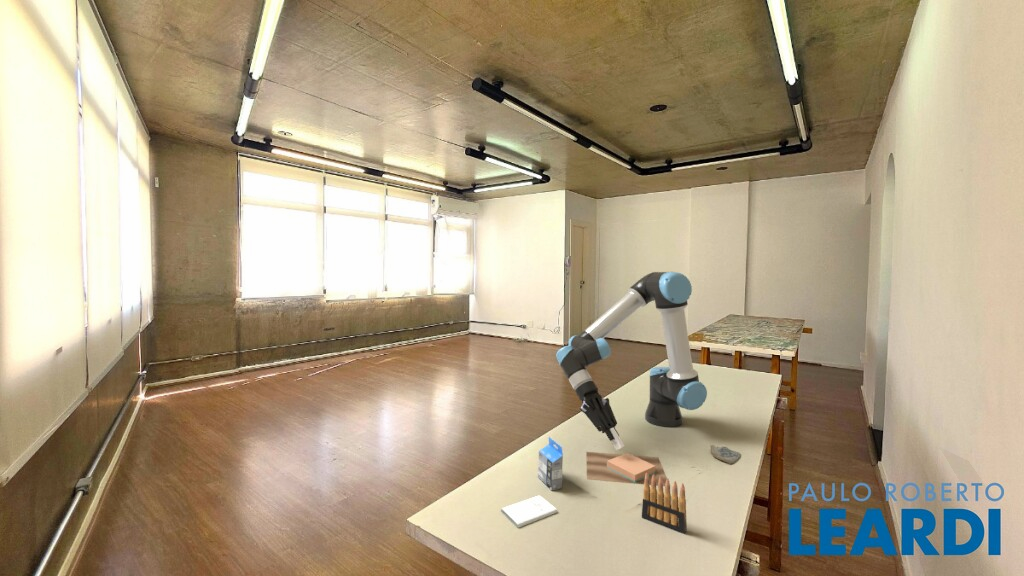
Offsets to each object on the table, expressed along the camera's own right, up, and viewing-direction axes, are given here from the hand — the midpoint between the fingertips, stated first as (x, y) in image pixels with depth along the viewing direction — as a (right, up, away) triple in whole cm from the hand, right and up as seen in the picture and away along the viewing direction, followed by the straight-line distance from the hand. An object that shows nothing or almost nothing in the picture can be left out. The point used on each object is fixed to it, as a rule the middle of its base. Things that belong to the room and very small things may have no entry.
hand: (620, 448), depth 130 cm
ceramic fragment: (+38, -7, +9) cm, 40 cm away
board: (+1, -7, -1) cm, 7 cm away
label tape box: (-24, -7, -9) cm, 26 cm away
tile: (-1, -4, +1) cm, 5 cm away
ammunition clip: (+3, -8, -29) cm, 30 cm away
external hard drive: (-31, -8, -24) cm, 40 cm away
